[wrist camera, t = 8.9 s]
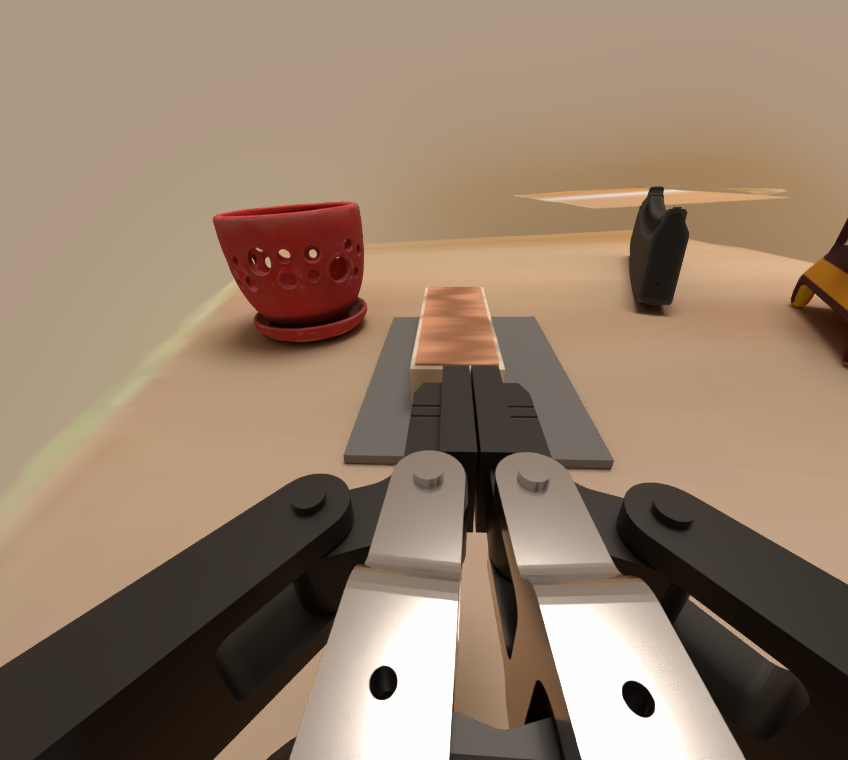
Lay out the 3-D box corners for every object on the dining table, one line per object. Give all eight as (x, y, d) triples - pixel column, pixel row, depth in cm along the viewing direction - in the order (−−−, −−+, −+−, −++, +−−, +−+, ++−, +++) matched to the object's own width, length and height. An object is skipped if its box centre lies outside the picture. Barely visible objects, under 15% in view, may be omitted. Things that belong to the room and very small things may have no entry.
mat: (533, 322, 39) (534, 316, 39) (611, 468, 20) (613, 460, 20) (394, 322, 40) (393, 317, 40) (344, 462, 21) (343, 454, 21)
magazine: (700, 232, 33) (684, 133, 52) (659, 230, 35) (657, 134, 53) (646, 367, 46) (649, 249, 64) (617, 362, 47) (628, 248, 65)
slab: (501, 409, 25) (481, 314, 40) (505, 367, 23) (483, 285, 39) (411, 408, 25) (426, 314, 40) (409, 367, 23) (425, 286, 39)
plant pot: (370, 303, 47) (359, 197, 41) (374, 346, 35) (359, 208, 29) (262, 311, 45) (234, 202, 39) (231, 358, 34) (184, 216, 28)
